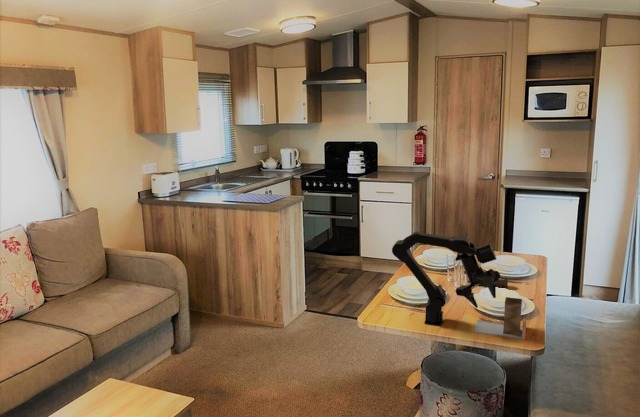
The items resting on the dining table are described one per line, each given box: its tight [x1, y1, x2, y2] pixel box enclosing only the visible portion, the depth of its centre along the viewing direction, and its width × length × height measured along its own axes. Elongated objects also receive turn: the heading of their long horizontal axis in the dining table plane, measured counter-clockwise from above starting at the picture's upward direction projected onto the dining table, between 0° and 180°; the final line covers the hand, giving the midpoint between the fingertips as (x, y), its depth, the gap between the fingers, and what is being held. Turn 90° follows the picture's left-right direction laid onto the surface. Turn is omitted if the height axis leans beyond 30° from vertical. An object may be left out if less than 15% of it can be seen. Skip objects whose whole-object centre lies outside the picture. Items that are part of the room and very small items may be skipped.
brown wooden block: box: [503, 296, 523, 336], centre depth 202 cm, size 6×6×13 cm
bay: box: [473, 318, 527, 341], centre depth 205 cm, size 19×12×4 cm, turn 67°
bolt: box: [485, 276, 509, 289], centre depth 253 cm, size 6×5×15 cm
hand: (485, 302), depth 205 cm, fingers open, 9 cm apart
